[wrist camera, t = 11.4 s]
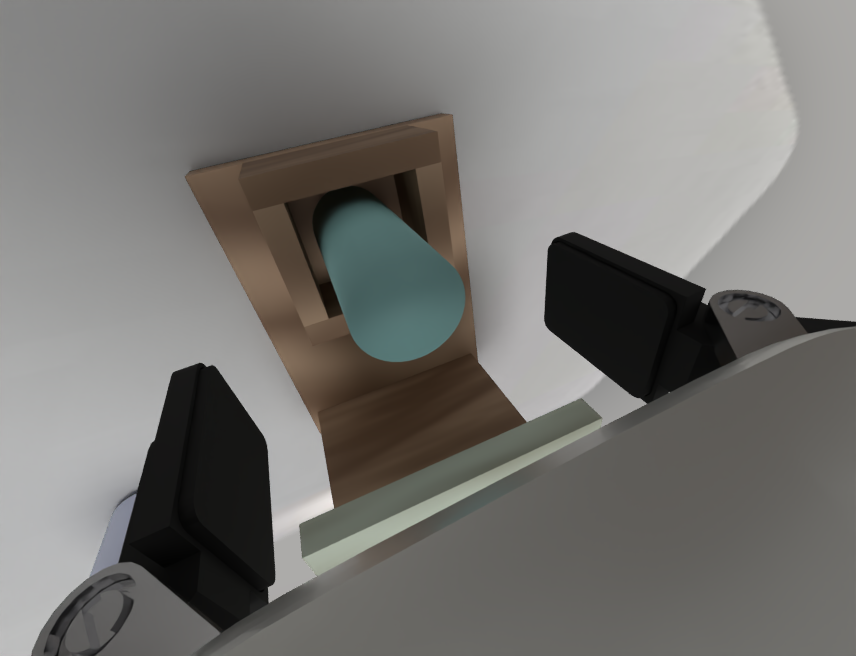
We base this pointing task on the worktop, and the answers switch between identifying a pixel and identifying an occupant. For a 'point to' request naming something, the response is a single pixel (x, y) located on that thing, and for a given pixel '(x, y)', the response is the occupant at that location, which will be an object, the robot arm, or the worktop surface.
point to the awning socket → (347, 363)
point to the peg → (386, 277)
